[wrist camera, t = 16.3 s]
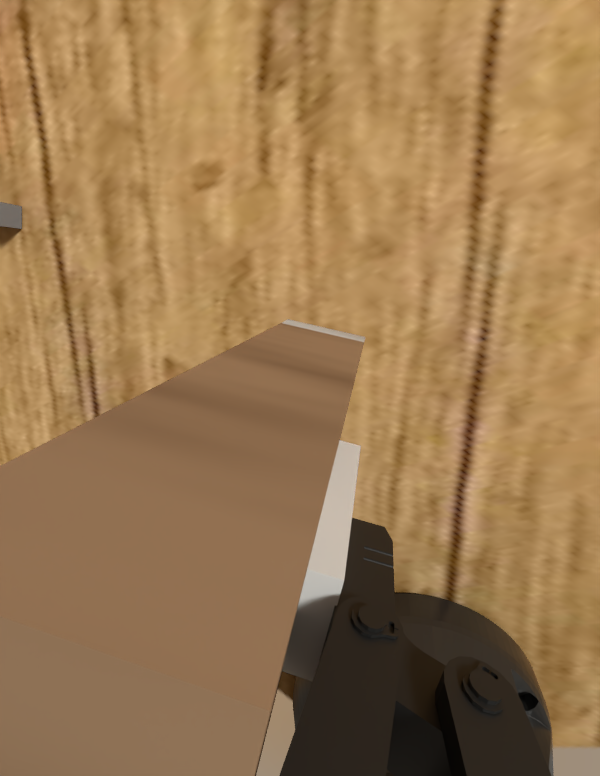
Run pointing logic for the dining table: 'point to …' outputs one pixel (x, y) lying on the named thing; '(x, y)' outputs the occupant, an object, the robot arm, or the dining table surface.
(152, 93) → the dining table surface
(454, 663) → the robot arm
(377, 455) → the dining table surface
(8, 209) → the slate frame
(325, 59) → the dining table surface
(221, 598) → the walnut block
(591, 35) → the dining table surface
